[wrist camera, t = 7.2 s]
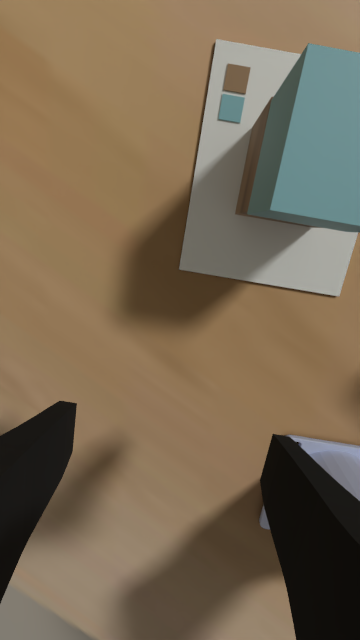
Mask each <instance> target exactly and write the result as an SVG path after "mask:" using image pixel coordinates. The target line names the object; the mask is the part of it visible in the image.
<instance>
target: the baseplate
mask: <svg viewBox="0 0 360 640" xmlns="http://www.w3.org/2000/svg"><path fill="white" fill-rule="evenodd" d="M300 56H301V54H296V53H291V52H285V51H280V50H274V49H269V48H263V47H257V46H252V45H246V44H241V43H235V42H230V41H224V40H219V39H216V45H215V51H214V57H213V63H212V69H211V75H210V81H209V88H208V94H207V100H206V106H205V112H204V118H203V125H202V131H201V137H200V143H199V149H198V155H197V161H196V168H195V174H194V180H193V186H192V192H191V198H190V204H189V211H188V217H187V223H186V229H185V235H184V241H183V247H182V254H181V260H180V266H179V270H185V271H191V272H197V273H203V274H208V275H214V276H220V277H226V278H232V279H238V280H244V281H250V282H256V283H262V284H268V285H274V286H280V287H286V288H292V289H298V290H304V291H310V292H316V293H321V294H327V295H333V296H339V295H340V292H341V288H342V285H343V282H344V278H345V275H346V272H347V268H348V265H349V262H350V258H351V255H352V252H353V248H354V245H355V241H356V238H357V235H358V232H344V231H338V230H333V229H327V228H312V227H306V226H300V225H294V224H288V223H282V222H277V221H271V220H265V219H259V218H253V217H247V216H242V215H236V214H235V211H236V206H237V201H238V196H239V191H240V186H241V181H242V176H243V171H244V166H245V161H246V156H247V151H248V146H249V141H250V136H251V131H252V127H253V125H254V124H255V122H256V120H257V119H258V117H259V116H260V114H261V113H262V111H263V109H264V108H265V106H266V105H267V103H268V102H269V100H270V98H271V97H274V95H275V94H276V92H277V91H278V89H279V88H280V86H281V85H282V83H283V82H284V80H285V79H286V77H287V76H288V74H289V72H290V71H291V69H292V68H293V66H294V65H295V63H296V62H297V60H298V59H299V57H300Z"/></svg>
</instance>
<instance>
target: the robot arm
mask: <svg viewBox="0 0 360 640" xmlns="http://www.w3.org/2000/svg"><path fill="white" fill-rule="evenodd" d="M76 405H77V403H71V402H64V401H59V402H57V403H55V404H54V405H52V406H50V407H49V408H47V409H46V410H44V411H42V412H41V413H39V414H38V415H36V416H34V417H33V418H31V419H29V420H28V421H26V422H24V423H23V424H21V425H19V426H18V427H16V428H14V429H12V430H10V431H9V432H7V433H5V434H3V435H1V436H0V603H1V600H2V598H3V595H4V593H5V591H6V588H7V586H8V584H9V581H10V579H11V577H12V575H13V572H14V570H15V568H16V565H17V563H18V561H19V558H20V556H21V554H22V552H23V550H24V548H25V545H26V543H27V541H28V539H29V537H30V536H31V534H32V532H33V530H34V528H35V526H36V525H37V523H38V521H39V519H40V517H41V516H42V514H43V512H44V510H45V508H46V506H47V505H48V503H49V501H50V499H51V497H52V495H53V494H54V492H55V490H56V488H57V486H58V484H59V482H60V481H61V479H62V477H63V474H64V472H65V469H66V467H67V464H68V462H69V459H70V456H71V454H72V451H73V439H74V428H75V417H76ZM296 442H299V444H297V443H296ZM260 483H261V490H262V497H263V503H264V505H263V508H262V512H261V515H260V519H259V522H260V526H261V527H262V528H264V529H270V530H271V534H272V537H273V541H274V544H275V548H276V551H277V554H278V558H279V561H280V565H281V568H282V572H283V575H284V579H285V584H286V588H287V592H288V597H289V602H290V608H291V613H292V618H293V623H294V629H295V635H296V640H360V446H357V445H351V444H344V443H338V442H332V441H326V440H319V439H313V438H307V437H301V436H295V435H286V436H282V435H275V434H273V436H272V439H271V443H270V446H269V450H268V454H267V457H266V461H265V464H264V468H263V472H262V475H261V479H260Z"/></svg>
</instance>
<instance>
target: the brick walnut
mask: <svg viewBox="0 0 360 640" xmlns="http://www.w3.org/2000/svg"><path fill="white" fill-rule="evenodd" d="M272 99H273V97H271V98H270V100H269V102H268V103H267V105H266V106H265V108H264V109H263V111H262V113H261V114H260V116H259V117H258V119H257V120H256V122H255V124H254V125H253V127H252V131H251V136H250V141H249V146H248V151H247V156H246V161H245V166H244V171H243V176H242V181H241V186H240V191H239V196H238V201H237V206H236V211H235V214H236V215H242V216H247V217H253V218H259V219H265V220H271V221H277V222H282V223H288V224H294V225H300V226H306V227H312V228H321V227H316V226H310V225H305V224H299V223H293V222H288V221H282V220H276V219H271V218H265V217H260V216H254V215H248V214H247V212H248V207H249V202H250V198H251V193H252V188H253V184H254V179H255V174H256V170H257V165H258V160H259V156H260V151H261V146H262V142H263V137H264V132H265V128H266V123H267V118H268V114H269V109H270V104H271V100H272Z"/></svg>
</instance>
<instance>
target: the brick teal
mask: <svg viewBox="0 0 360 640" xmlns="http://www.w3.org/2000/svg"><path fill="white" fill-rule="evenodd" d="M247 214H248V215H254V216H260V217H265V218H271V219H276V220H282V221H288V222H293V223H299V224H305V225H310V226H316V227H321V228H327V229H333V230H338V231H344V232H360V53H357V52H352V51H346V50H341V49H336V48H330V47H325V46H320V45H314V44H309V43H308V45H307V46H306V48H305V49H304V51H303V53H302V54H301V56H300V57H299V59H298V60H297V62H296V63H295V65H294V66H293V68H292V69H291V71H290V72H289V74H288V76H287V77H286V79H285V80H284V82H283V83H282V85H281V86H280V88H279V89H278V91H277V92H276V94H275V95H274V97H273V99H272V100H271V104H270V109H269V114H268V118H267V123H266V128H265V132H264V137H263V142H262V146H261V151H260V156H259V160H258V165H257V170H256V174H255V179H254V184H253V188H252V193H251V198H250V202H249V207H248V212H247Z"/></svg>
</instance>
